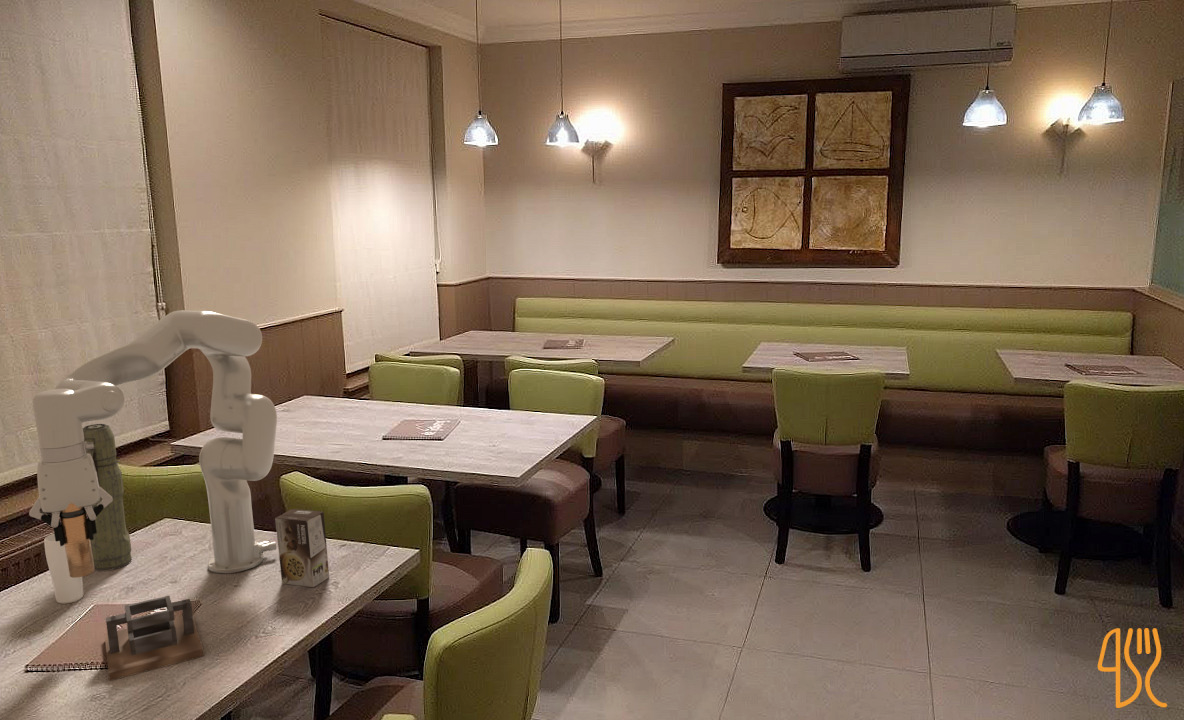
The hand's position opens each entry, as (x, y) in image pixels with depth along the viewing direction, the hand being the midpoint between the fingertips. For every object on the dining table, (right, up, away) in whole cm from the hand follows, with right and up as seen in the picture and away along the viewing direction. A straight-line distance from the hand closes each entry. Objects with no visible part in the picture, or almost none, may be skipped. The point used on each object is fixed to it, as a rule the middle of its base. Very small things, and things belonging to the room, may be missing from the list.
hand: (77, 539), depth 170 cm
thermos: (-16, -15, +42) cm, 47 cm away
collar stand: (+16, -21, -1) cm, 27 cm away
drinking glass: (-15, -18, +22) cm, 32 cm away
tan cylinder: (0, -7, +1) cm, 7 cm away
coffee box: (+36, -16, +29) cm, 49 cm away
